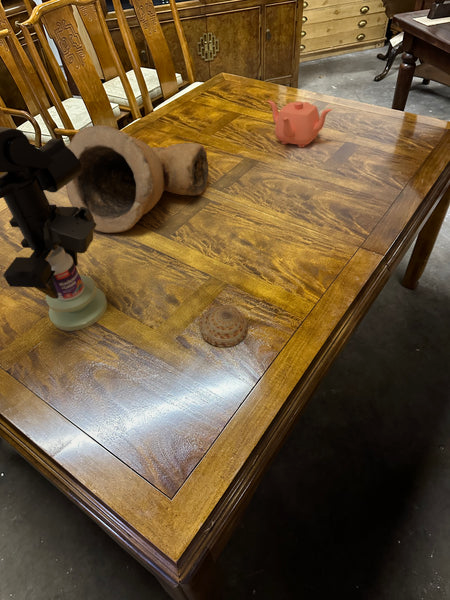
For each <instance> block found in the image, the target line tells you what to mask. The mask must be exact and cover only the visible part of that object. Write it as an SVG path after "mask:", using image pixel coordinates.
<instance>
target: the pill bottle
mask: <svg viewBox="0 0 450 600" xmlns="http://www.w3.org/2000/svg"><path fill="white" fill-rule="evenodd" d="M57 246H58V245H57ZM46 261H48V262H49V263H50V265H51V267H52V271H55V273H54V275H53V276H52V280H53V283H54V285H55V288H56V290H57V293H58V296H59V297H58V299H59V300H63V301H69V300H73V299H75V298H77V297H78V296H80V295H81V294H82V292H83V290H84V284H83V282H82V280H81V277H80V275H81V274H80V273H79V270H78V268H77V266H75V264H74V261H73V259H72V257H71V256H70V255H69V254H67V253H65V251H64V249H63V248H62V247H60V246H58V247H57V249H56V250H53V251H52V253H51V254H50V256H49V257H48V259H47V260H46Z"/></svg>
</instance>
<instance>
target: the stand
mask: <svg viewBox="0 0 450 600" xmlns="http://www.w3.org/2000/svg"><path fill="white" fill-rule="evenodd" d="M79 275H80V277H81V280H82V282H83V284H84V290H83V292H82V294H81V295H80V296H78V297H77V298H75V299H73V300H69V301H63V300H59V299H58V298H57V299H54V298H51V297H49V296H48V295H46V294H45V302H46V304H47V306H48V307H49V308H48V317H49V320H50V322H51V323H52V325H53V326H54V327H55V328H58V329H59V330H61V331H67V332H73V331H74V332H75V331H80V330H83V329H87V328H89V327H90V326H92V325H94V324H95V323H96V322H98V321H100V319H101V318H102V317H103V316H104V315H105V313H106V311H107V308H108V299H107V297H106V294H105V293H104V291H102V290H101V289H100V288H98V287H97V285H96V283H95V281H94V279H93V278H92V277H90V276H88V275H83V274H79Z"/></svg>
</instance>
